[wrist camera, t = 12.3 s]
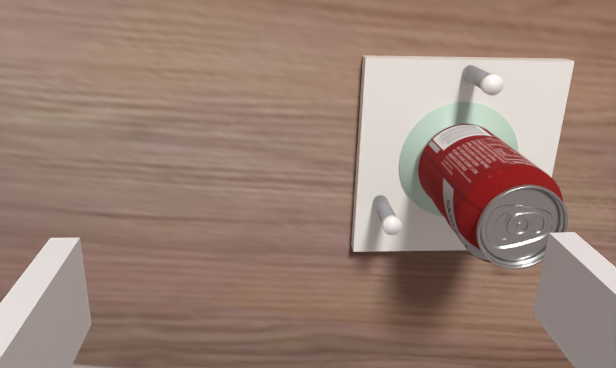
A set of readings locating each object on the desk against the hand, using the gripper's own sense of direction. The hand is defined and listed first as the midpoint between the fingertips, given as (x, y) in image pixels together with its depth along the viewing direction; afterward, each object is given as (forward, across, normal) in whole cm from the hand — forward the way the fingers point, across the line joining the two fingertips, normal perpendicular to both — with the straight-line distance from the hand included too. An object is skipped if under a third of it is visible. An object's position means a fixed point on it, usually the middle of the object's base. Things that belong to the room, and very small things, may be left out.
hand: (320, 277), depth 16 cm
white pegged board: (+29, +14, -6) cm, 32 cm away
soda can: (+28, +14, -6) cm, 31 cm away
